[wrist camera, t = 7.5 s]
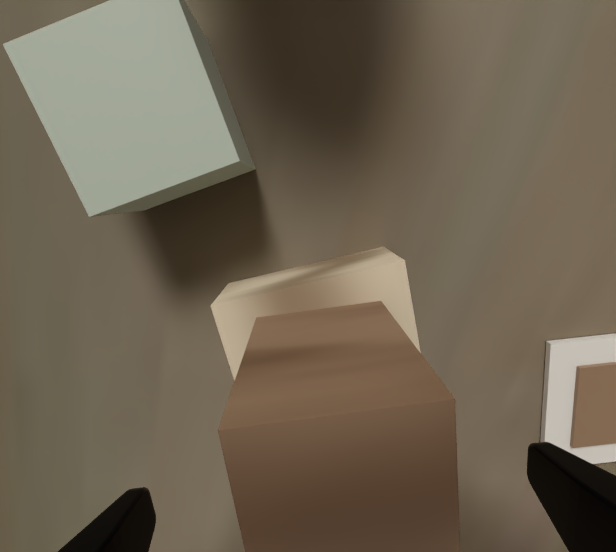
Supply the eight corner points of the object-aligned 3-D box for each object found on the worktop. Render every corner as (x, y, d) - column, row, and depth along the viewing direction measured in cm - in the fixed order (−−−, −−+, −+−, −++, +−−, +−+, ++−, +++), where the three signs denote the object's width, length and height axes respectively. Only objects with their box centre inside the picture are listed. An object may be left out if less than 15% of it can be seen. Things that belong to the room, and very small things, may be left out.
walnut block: (390, 410, 13) (461, 579, 8) (275, 425, 13) (257, 605, 8) (381, 300, 12) (455, 399, 6) (256, 317, 12) (217, 430, 6)
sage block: (207, 40, 13) (169, -25, 9) (255, 169, 14) (239, 160, 10) (88, 87, 13) (2, 44, 10) (145, 210, 15) (89, 216, 11)
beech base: (381, 245, 15) (404, 260, 12) (407, 382, 17) (433, 429, 14) (230, 281, 16) (210, 305, 12) (269, 412, 17) (261, 467, 14)
